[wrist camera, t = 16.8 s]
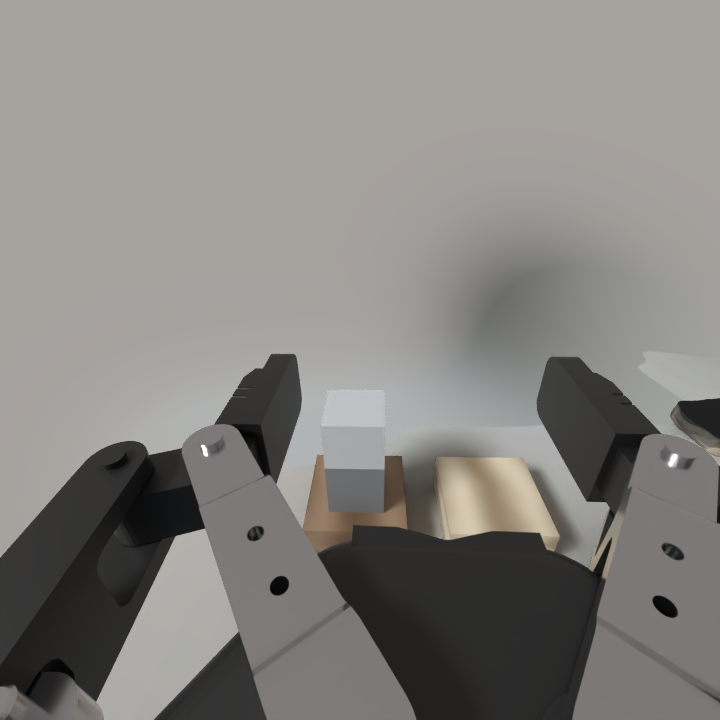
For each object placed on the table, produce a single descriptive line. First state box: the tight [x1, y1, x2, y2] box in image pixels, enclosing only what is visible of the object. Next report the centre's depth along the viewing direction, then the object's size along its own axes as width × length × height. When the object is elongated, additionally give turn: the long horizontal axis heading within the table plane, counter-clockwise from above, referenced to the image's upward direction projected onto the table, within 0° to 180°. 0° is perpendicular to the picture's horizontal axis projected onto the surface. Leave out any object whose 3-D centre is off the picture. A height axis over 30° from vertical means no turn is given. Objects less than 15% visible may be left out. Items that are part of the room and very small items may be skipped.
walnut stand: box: [303, 455, 407, 554], centre depth 40 cm, size 10×10×4 cm
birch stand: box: [433, 457, 560, 551], centre depth 39 cm, size 10×10×4 cm
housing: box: [321, 390, 385, 513], centre depth 36 cm, size 6×6×11 cm
